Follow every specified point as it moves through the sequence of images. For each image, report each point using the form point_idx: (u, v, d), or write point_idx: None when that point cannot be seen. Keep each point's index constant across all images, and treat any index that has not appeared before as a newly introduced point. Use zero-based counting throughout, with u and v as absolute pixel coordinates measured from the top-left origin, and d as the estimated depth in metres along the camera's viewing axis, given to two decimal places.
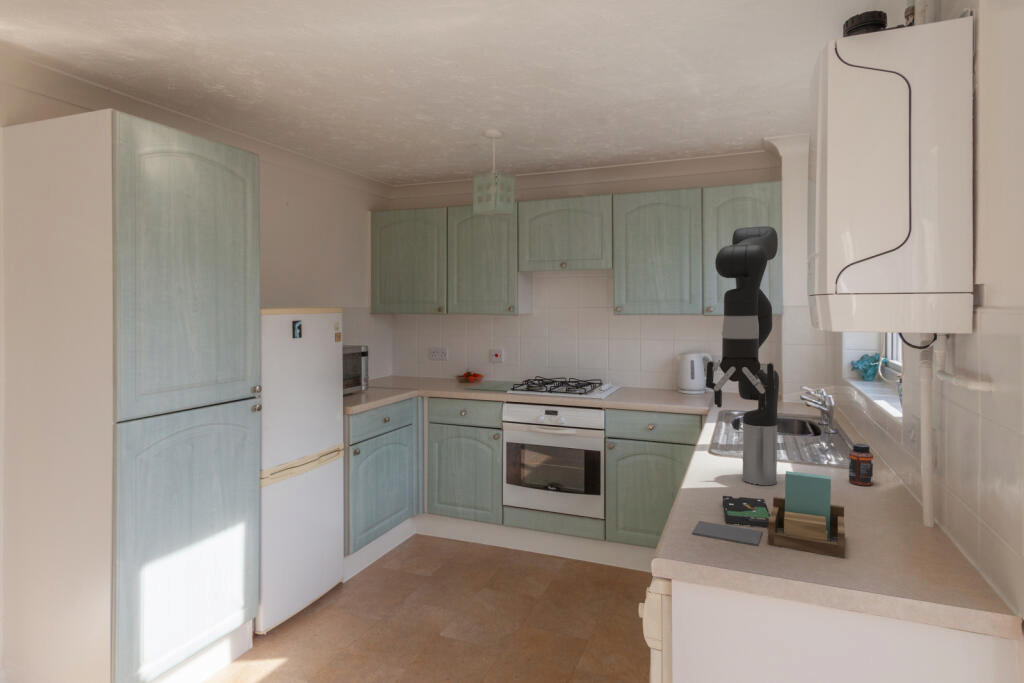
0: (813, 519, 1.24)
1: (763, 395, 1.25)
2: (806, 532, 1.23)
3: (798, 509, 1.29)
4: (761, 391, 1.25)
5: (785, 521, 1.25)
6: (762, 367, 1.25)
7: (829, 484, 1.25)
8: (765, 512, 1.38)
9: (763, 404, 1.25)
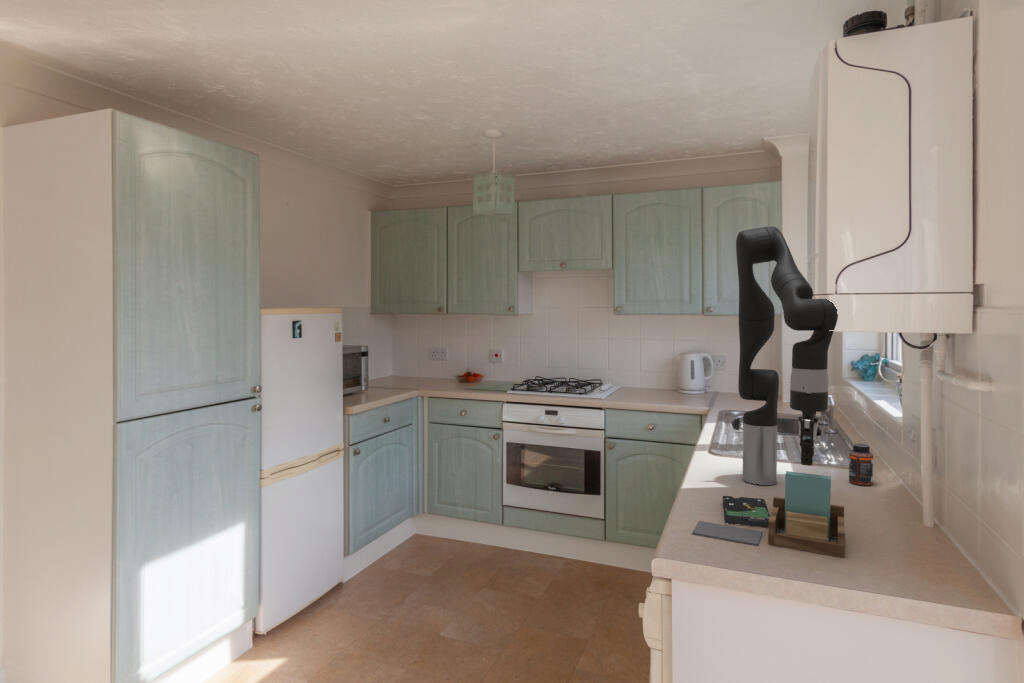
0: (815, 519, 1.24)
1: None
2: (808, 532, 1.23)
3: (798, 509, 1.29)
4: None
5: (787, 521, 1.24)
6: None
7: (829, 484, 1.25)
8: (765, 512, 1.38)
9: None
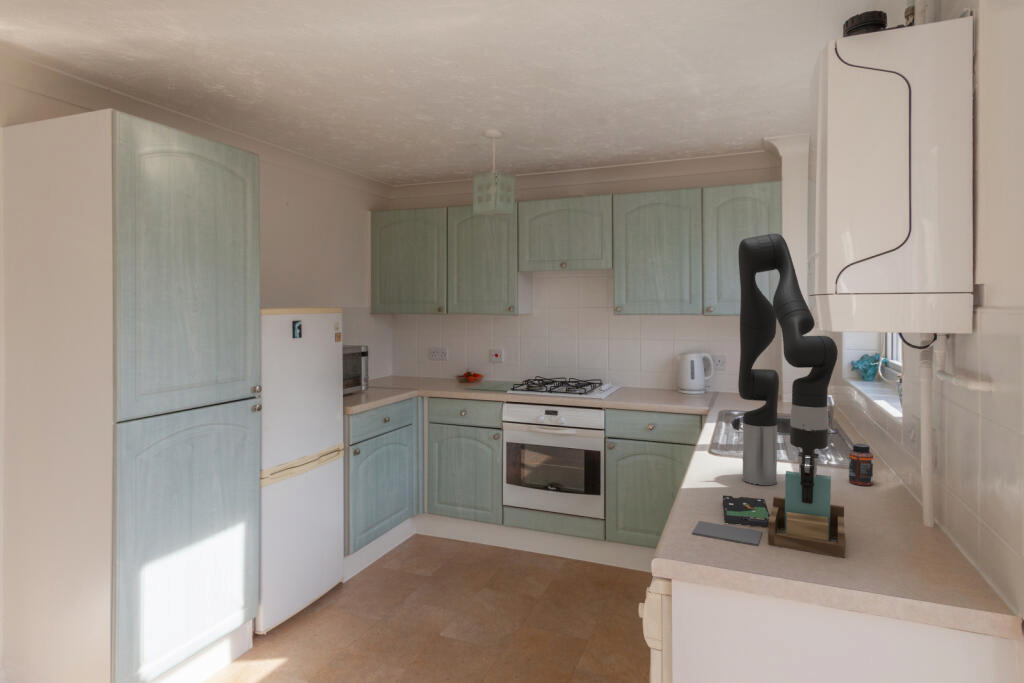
0: (815, 519, 1.24)
1: None
2: (808, 532, 1.23)
3: (798, 509, 1.29)
4: None
5: (788, 522, 1.24)
6: None
7: (829, 484, 1.25)
8: (765, 512, 1.38)
9: None
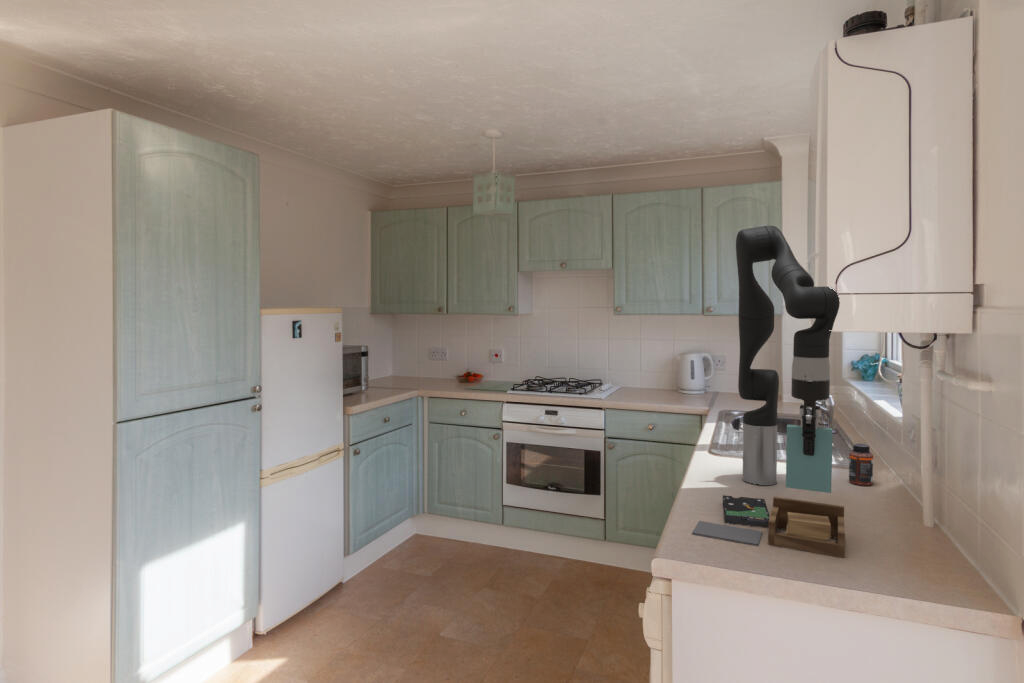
0: (817, 519, 1.24)
1: None
2: (811, 533, 1.22)
3: (800, 462, 1.28)
4: None
5: (790, 522, 1.24)
6: None
7: (831, 435, 1.25)
8: (764, 512, 1.39)
9: None
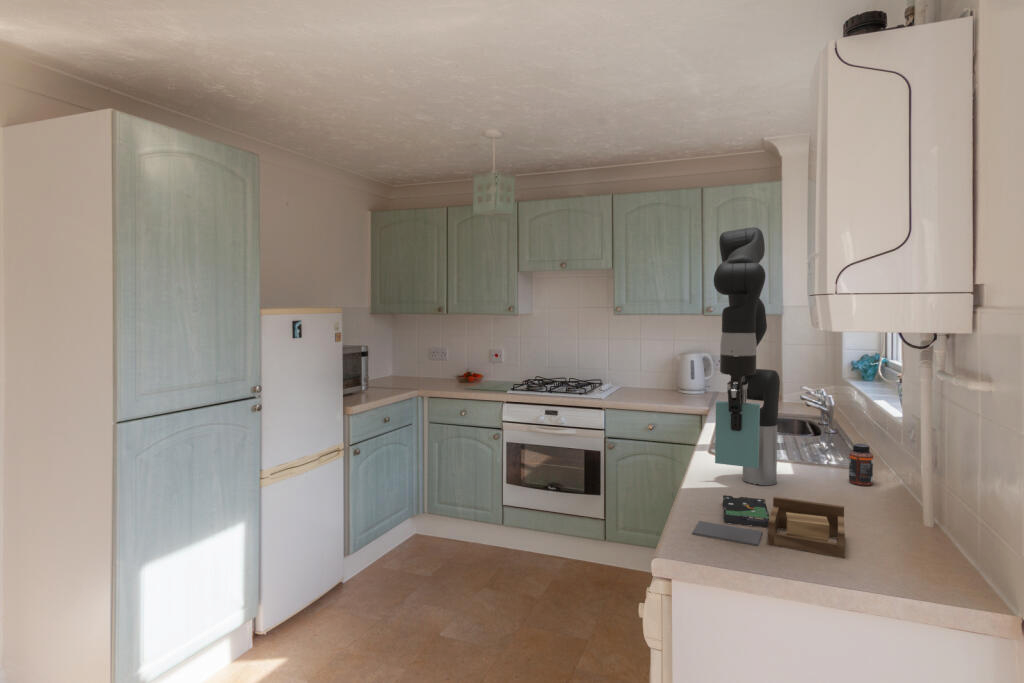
0: (815, 520, 1.24)
1: None
2: (809, 533, 1.23)
3: (728, 437, 1.29)
4: None
5: (789, 523, 1.24)
6: None
7: (757, 410, 1.26)
8: (764, 512, 1.39)
9: None
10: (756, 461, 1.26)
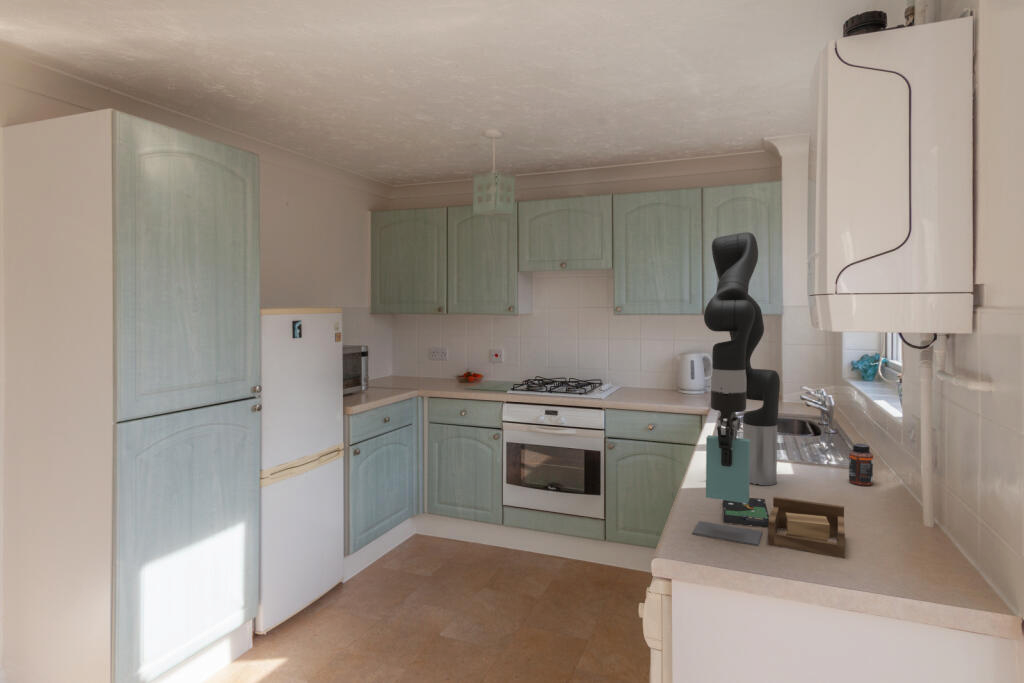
0: (815, 520, 1.24)
1: None
2: (810, 533, 1.23)
3: (719, 472, 1.30)
4: None
5: (789, 523, 1.24)
6: None
7: (747, 446, 1.27)
8: (764, 512, 1.39)
9: None
10: (746, 496, 1.28)
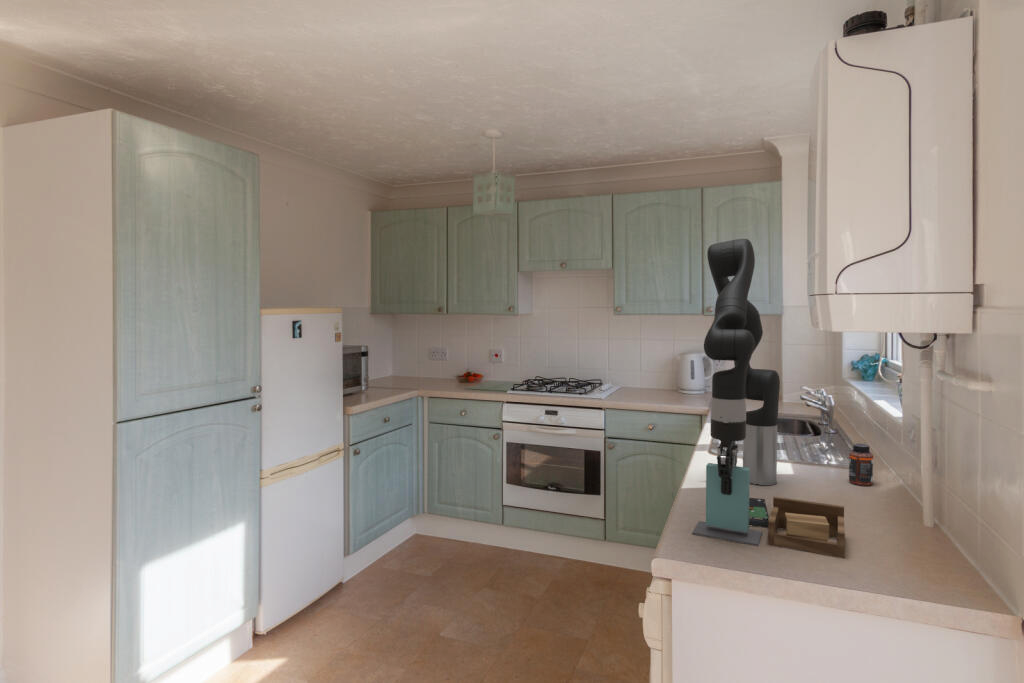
0: (815, 520, 1.24)
1: None
2: (809, 533, 1.22)
3: (718, 500, 1.31)
4: None
5: (789, 523, 1.24)
6: None
7: (747, 475, 1.27)
8: (764, 512, 1.39)
9: None
10: (746, 525, 1.28)
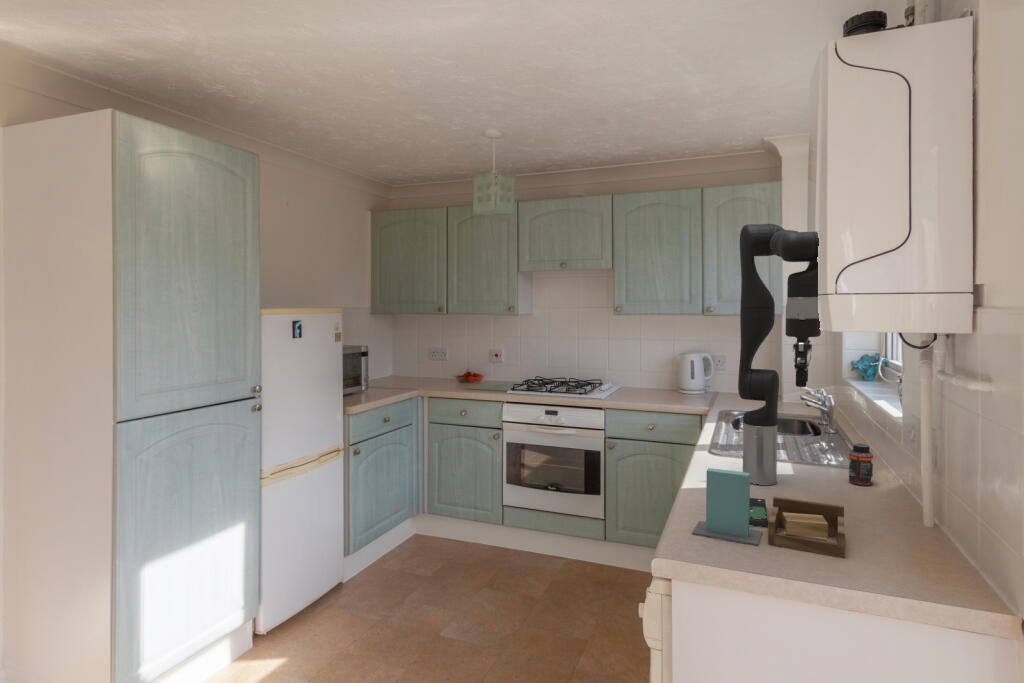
0: (813, 519, 1.24)
1: None
2: (808, 532, 1.23)
3: (719, 505, 1.31)
4: None
5: (788, 523, 1.24)
6: None
7: (747, 481, 1.27)
8: (763, 512, 1.39)
9: None
10: (746, 530, 1.28)
